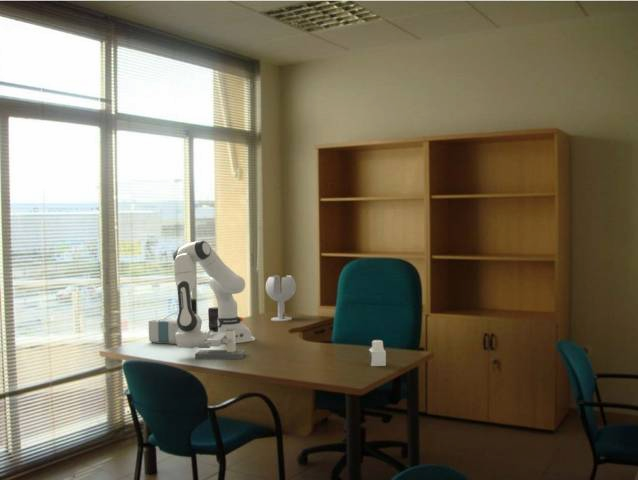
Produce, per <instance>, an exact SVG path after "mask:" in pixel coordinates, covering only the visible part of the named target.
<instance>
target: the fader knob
mask: <svg viewBox="0 0 638 480" xmlns="http://www.w3.org/2000/svg"><path fill="white" fill-rule="evenodd" d="M226 335H227V339H232V342H231V343H226V350H227V352H234V351H235V350H237V349H236V344H237V343H235V328H228V329H227V330H226Z"/></svg>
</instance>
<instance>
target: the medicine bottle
mask: <svg viewBox="0 0 638 480" xmlns="http://www.w3.org/2000/svg"><path fill="white" fill-rule="evenodd" d="M368 363H369V364H370V366H371V367H386V366H387V352H386V350H385V349H384V340H382V339H376V338H375V339H372V340H370V348H369V349H368Z"/></svg>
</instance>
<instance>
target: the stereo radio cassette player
mask: <svg viewBox="0 0 638 480" xmlns="http://www.w3.org/2000/svg"><path fill="white" fill-rule="evenodd" d="M176 313H179V310H177V311H175V312H173V313H171V314H169V315H168V316H166V317H164V318H155V319H150V320H148V340H149V342H151V343H152V342H153V344H154V343H158V344H170V345H171V344H172V345H177V344H176V341H175V334H176V333H177V331H178V330H179V327H178V325H177V319H167V318H169V317H171V316H173V315H175V314H176Z"/></svg>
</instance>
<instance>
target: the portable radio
mask: <svg viewBox="0 0 638 480" xmlns="http://www.w3.org/2000/svg"><path fill="white" fill-rule="evenodd" d="M191 306H192V311H193V313H194V314H196V315H197V299H196V298H192V297H191Z"/></svg>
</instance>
